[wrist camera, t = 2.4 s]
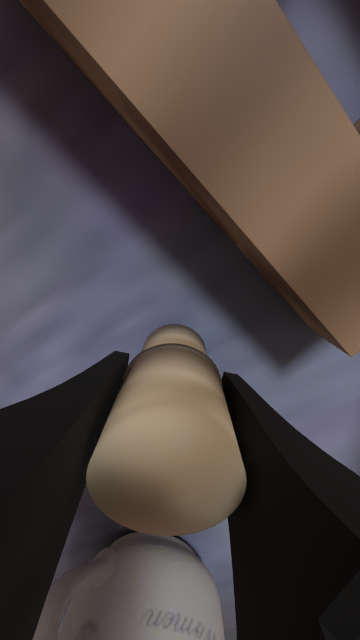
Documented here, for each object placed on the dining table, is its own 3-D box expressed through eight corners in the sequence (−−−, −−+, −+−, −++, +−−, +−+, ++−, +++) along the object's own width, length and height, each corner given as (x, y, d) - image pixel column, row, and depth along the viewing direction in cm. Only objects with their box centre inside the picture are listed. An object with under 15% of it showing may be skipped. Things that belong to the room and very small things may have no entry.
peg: (227, 353, 12) (282, 486, 6) (175, 397, 13) (169, 554, 7) (173, 301, 11) (162, 389, 5) (121, 353, 12) (51, 485, 6)
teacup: (228, 577, 20) (258, 788, 12) (114, 596, 21) (76, 798, 13) (182, 468, 15) (183, 692, 8) (40, 498, 16) (-82, 720, 9)
